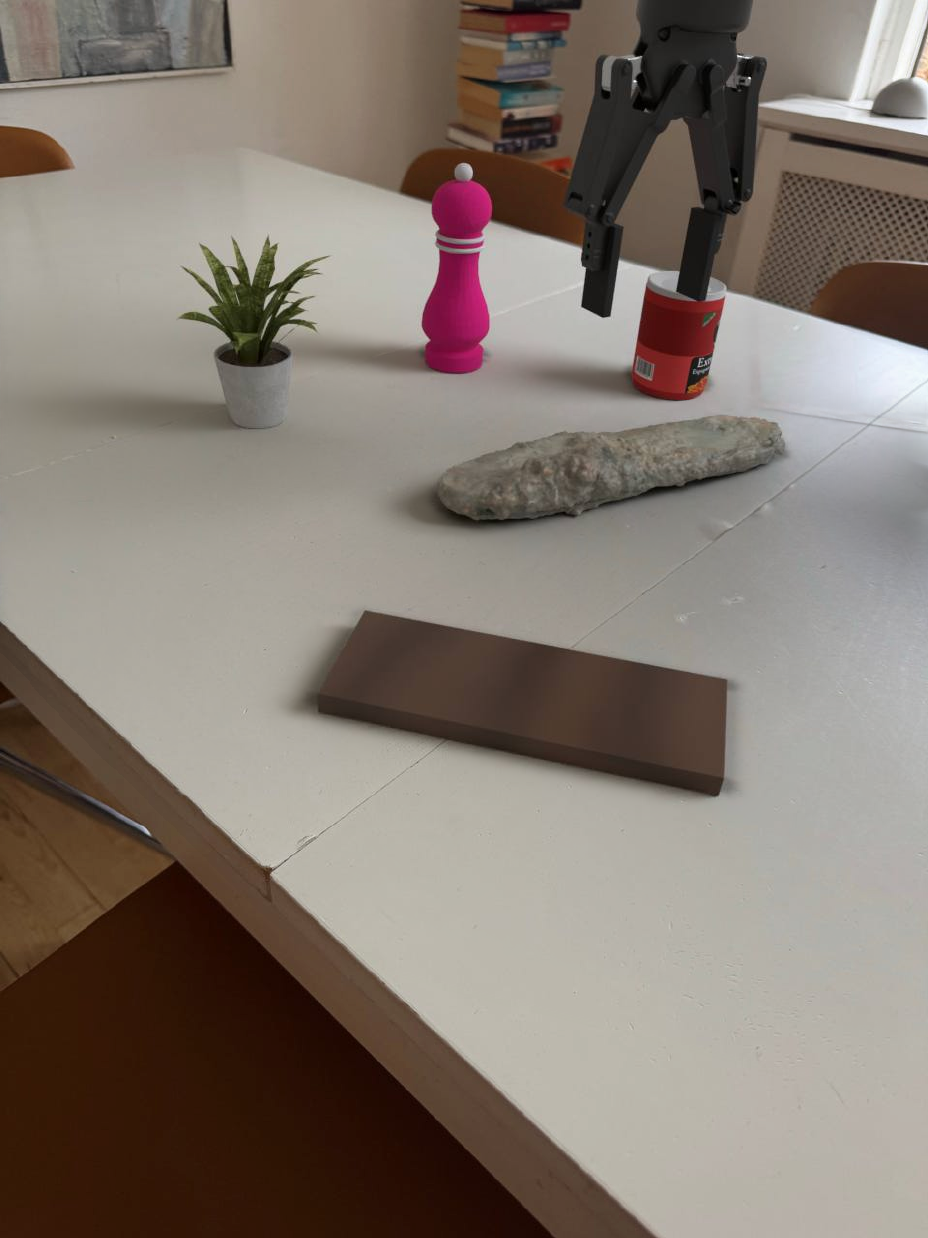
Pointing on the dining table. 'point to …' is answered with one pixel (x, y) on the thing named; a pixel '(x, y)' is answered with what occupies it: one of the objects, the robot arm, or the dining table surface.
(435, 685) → the bread board
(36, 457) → the dining table surface
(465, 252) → the pepper mill
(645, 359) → the canned food
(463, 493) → the elongated rock
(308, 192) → the dining table surface
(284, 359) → the house plant
